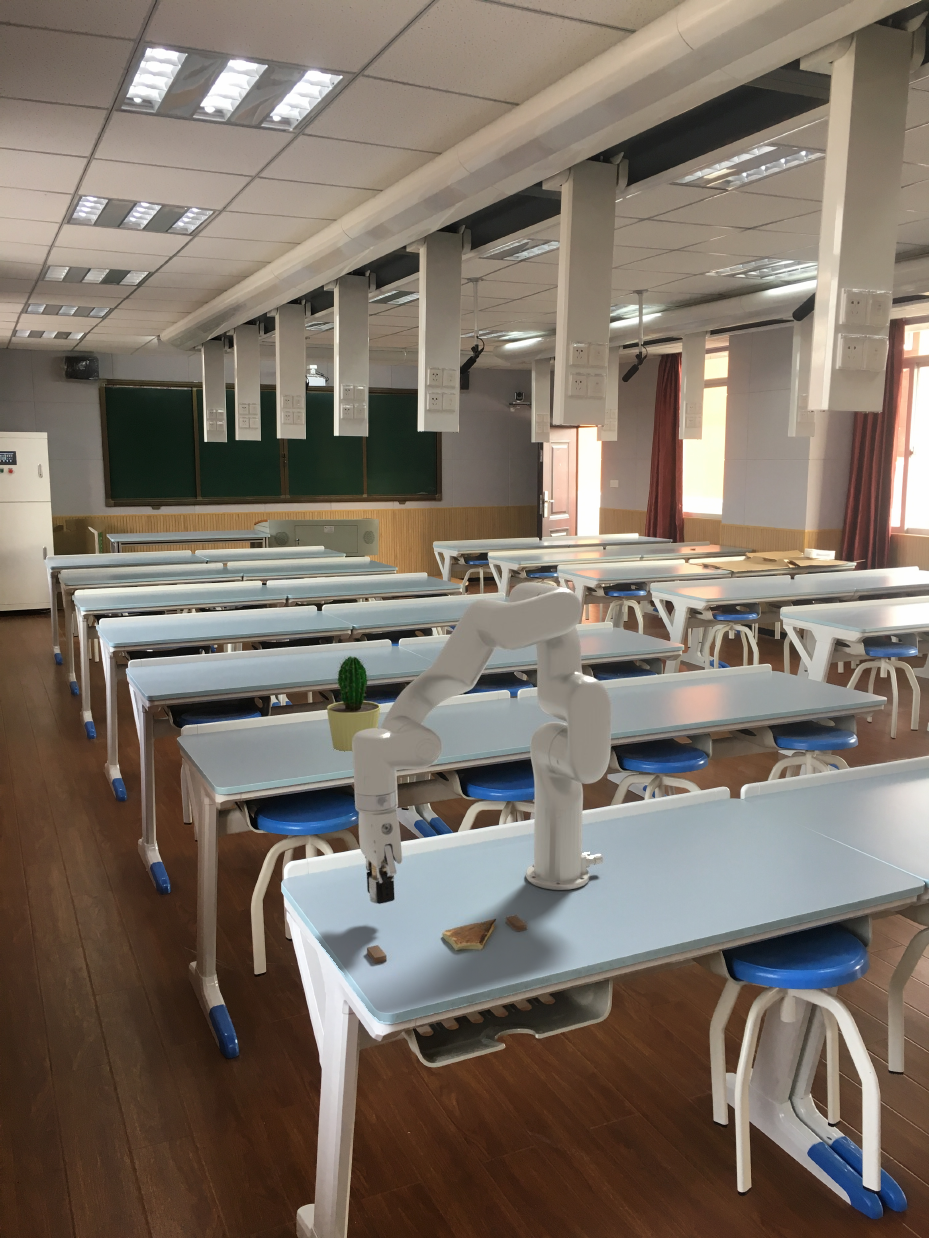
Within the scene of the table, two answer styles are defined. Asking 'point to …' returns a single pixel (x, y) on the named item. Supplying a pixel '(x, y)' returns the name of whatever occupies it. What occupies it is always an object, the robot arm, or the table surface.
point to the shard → (469, 935)
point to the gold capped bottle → (374, 883)
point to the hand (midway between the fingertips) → (380, 895)
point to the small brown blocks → (380, 956)
